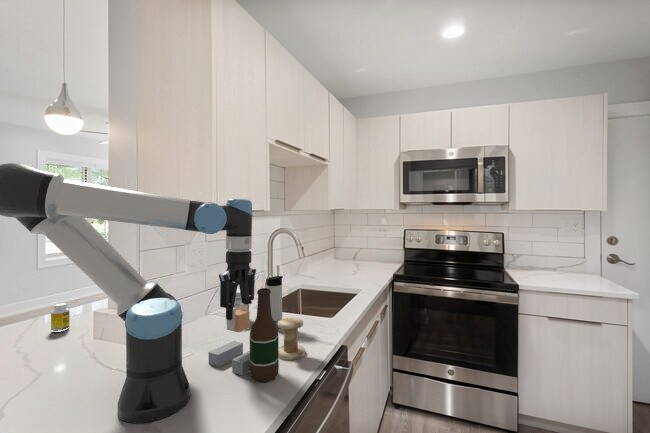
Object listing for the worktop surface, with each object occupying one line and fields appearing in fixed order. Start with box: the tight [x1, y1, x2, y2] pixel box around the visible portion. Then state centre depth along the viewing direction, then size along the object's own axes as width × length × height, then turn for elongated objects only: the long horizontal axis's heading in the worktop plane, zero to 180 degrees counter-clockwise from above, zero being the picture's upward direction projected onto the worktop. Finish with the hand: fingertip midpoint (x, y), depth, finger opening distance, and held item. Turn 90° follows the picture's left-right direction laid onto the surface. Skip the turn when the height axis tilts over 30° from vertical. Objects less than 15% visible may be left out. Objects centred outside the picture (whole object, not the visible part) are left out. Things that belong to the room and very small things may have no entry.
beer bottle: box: [249, 287, 280, 384], centre depth 89 cm, size 8×8×24 cm
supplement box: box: [225, 288, 242, 323], centre depth 136 cm, size 7×7×13 cm
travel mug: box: [265, 275, 284, 329], centre depth 129 cm, size 6×7×20 cm
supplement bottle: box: [50, 302, 70, 331], centre depth 125 cm, size 6×6×10 cm
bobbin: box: [278, 317, 306, 361], centre depth 103 cm, size 9×9×10 cm
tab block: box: [233, 310, 250, 333], centre depth 98 cm, size 4×4×5 cm
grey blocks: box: [208, 340, 250, 376], centre depth 97 cm, size 10×14×4 cm
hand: (237, 327), depth 98 cm, fingers closed on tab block, 4 cm apart
